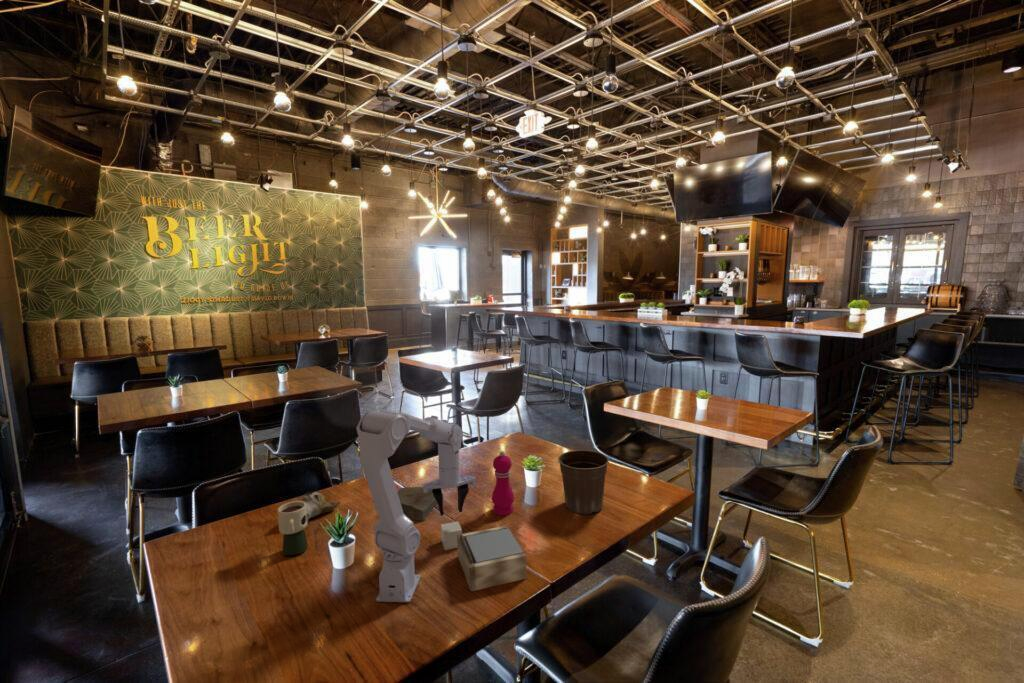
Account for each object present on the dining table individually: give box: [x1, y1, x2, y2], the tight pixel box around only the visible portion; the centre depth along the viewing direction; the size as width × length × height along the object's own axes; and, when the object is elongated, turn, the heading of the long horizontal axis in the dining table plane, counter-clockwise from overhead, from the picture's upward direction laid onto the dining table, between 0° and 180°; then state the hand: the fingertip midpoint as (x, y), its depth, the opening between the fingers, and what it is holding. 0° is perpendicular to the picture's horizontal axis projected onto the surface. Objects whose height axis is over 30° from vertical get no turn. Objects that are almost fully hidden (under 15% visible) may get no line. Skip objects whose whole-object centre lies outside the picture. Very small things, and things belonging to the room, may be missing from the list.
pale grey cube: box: [440, 520, 463, 551], centre depth 126 cm, size 5×5×5 cm
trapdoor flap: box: [466, 527, 525, 564], centre depth 115 cm, size 12×12×1 cm
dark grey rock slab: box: [397, 486, 438, 522], centre depth 148 cm, size 17×15×4 cm
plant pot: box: [557, 449, 610, 515], centre depth 146 cm, size 16×16×16 cm
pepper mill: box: [491, 450, 515, 517], centre depth 143 cm, size 7×7×20 cm
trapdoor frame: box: [457, 525, 527, 592], centre depth 115 cm, size 14×15×7 cm
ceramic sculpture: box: [300, 491, 341, 522], centre depth 143 cm, size 11×9×15 cm
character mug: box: [277, 500, 309, 556], centre depth 124 cm, size 11×7×13 cm, turn 22°
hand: (450, 512), depth 126 cm, fingers open, 5 cm apart
